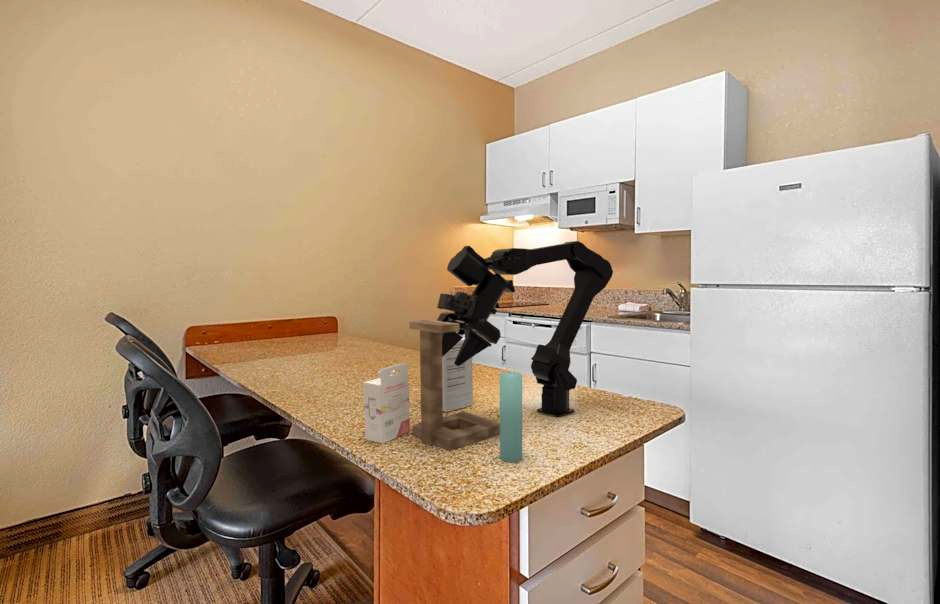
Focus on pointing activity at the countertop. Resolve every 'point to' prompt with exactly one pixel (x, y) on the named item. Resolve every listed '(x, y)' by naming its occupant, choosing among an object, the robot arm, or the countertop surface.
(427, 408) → the socket stand
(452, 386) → the supplement box
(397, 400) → the ink cartridge box
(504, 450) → the peg
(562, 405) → the robot arm
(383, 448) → the countertop surface
